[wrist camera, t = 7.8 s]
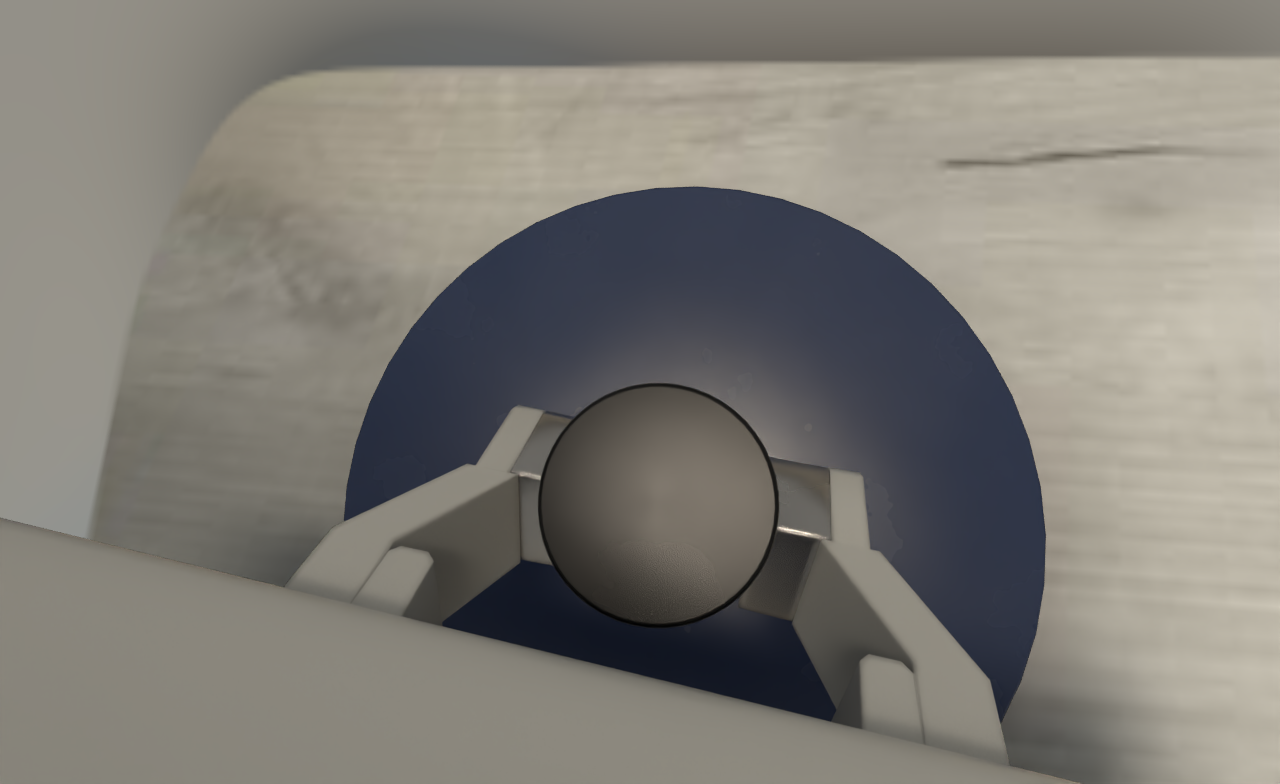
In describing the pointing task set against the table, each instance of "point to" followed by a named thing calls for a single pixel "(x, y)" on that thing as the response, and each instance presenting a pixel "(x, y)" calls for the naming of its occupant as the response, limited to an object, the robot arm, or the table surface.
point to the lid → (716, 434)
